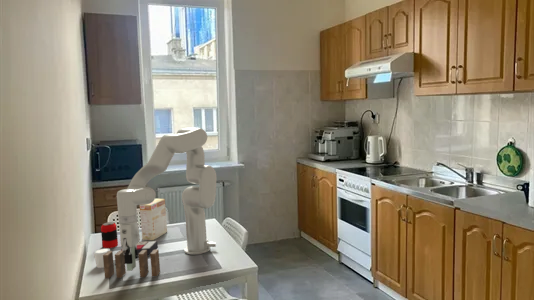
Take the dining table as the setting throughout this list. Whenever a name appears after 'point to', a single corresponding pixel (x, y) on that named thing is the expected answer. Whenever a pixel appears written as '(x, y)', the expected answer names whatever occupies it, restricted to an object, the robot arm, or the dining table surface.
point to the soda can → (109, 235)
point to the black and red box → (146, 246)
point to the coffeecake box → (153, 219)
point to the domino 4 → (143, 263)
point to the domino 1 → (108, 264)
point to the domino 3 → (133, 265)
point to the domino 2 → (120, 264)
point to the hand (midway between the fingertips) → (131, 260)
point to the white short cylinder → (100, 257)
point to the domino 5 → (155, 262)
